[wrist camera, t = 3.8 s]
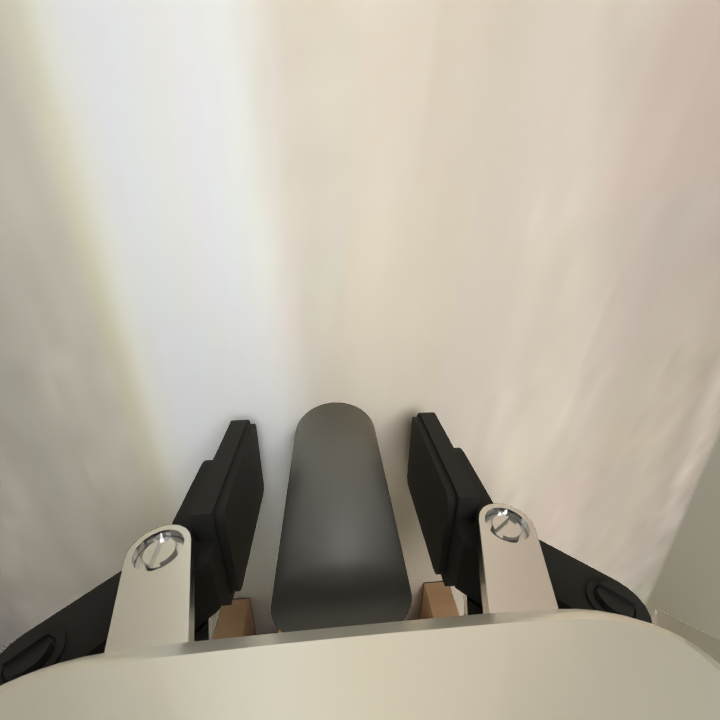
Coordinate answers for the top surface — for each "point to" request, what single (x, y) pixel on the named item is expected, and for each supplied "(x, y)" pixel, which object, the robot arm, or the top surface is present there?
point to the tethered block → (338, 529)
